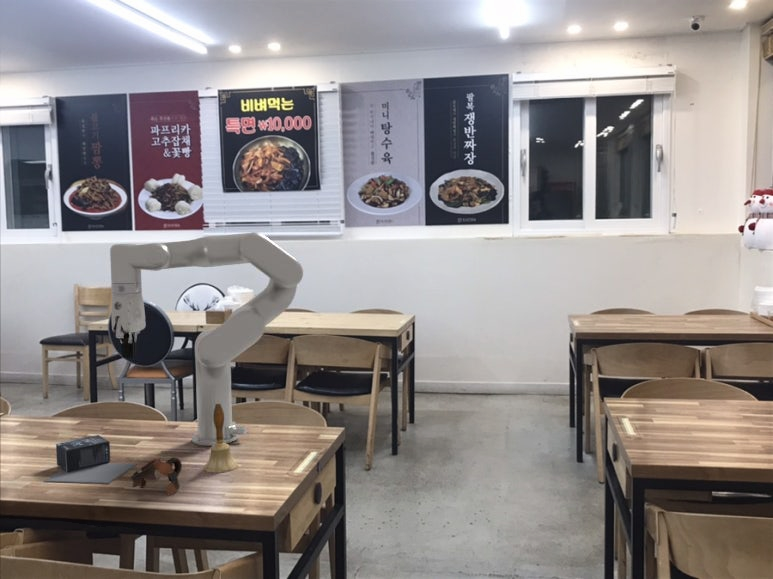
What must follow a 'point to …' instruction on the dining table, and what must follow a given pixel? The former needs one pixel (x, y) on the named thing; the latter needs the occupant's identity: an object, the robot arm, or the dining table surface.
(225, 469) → the hand bell
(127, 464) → the mat
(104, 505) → the dining table surface
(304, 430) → the dining table surface
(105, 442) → the box
